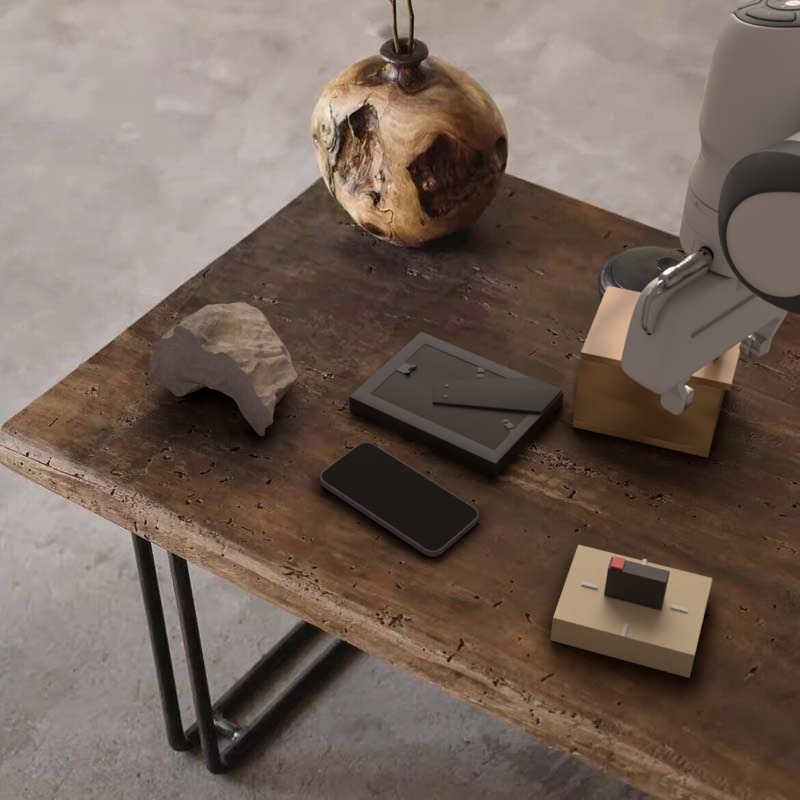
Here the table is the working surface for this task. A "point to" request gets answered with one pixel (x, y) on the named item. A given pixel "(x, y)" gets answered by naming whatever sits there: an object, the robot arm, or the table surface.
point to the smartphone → (399, 498)
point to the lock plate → (631, 616)
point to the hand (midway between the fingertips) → (715, 379)
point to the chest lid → (612, 332)
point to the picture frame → (457, 403)
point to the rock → (227, 359)
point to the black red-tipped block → (636, 583)
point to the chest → (643, 410)
